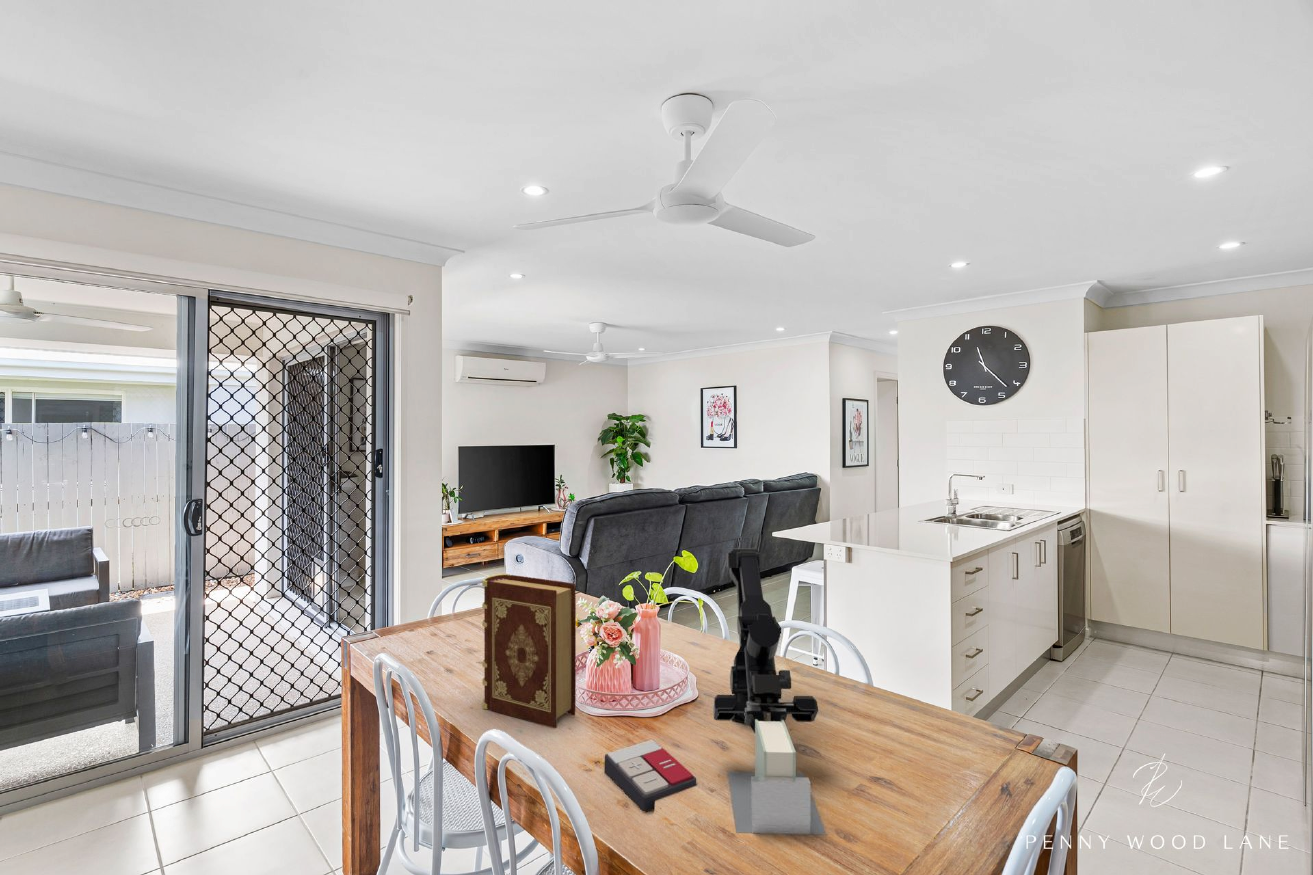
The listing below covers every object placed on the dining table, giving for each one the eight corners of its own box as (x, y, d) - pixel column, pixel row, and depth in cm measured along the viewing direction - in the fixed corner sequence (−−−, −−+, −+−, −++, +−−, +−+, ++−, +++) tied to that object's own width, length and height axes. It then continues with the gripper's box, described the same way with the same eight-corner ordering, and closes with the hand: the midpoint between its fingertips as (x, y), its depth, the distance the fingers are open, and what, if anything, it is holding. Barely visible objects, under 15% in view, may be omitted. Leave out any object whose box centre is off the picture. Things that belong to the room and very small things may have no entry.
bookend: (751, 826, 98) (751, 776, 98) (808, 827, 97) (808, 777, 97) (752, 832, 96) (752, 781, 96) (810, 834, 96) (810, 782, 96)
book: (755, 787, 109) (755, 719, 108) (783, 787, 108) (783, 719, 108) (763, 826, 98) (763, 751, 98) (795, 827, 97) (795, 751, 97)
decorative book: (477, 707, 144) (477, 579, 144) (500, 694, 151) (500, 572, 151) (554, 729, 133) (554, 590, 133) (576, 714, 140) (576, 582, 140)
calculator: (644, 793, 104) (603, 750, 116) (644, 818, 104) (603, 772, 116) (697, 774, 109) (653, 735, 122) (696, 797, 110) (652, 756, 122)
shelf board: (727, 779, 114) (727, 771, 114) (803, 780, 113) (803, 772, 113) (736, 841, 96) (736, 832, 96) (826, 843, 96) (826, 834, 96)
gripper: (714, 651, 114) (718, 740, 103) (816, 652, 113) (830, 742, 102) (712, 677, 122) (715, 762, 111) (807, 678, 121) (819, 764, 110)
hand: (769, 757), depth 109 cm, fingers closed, pressing on book
